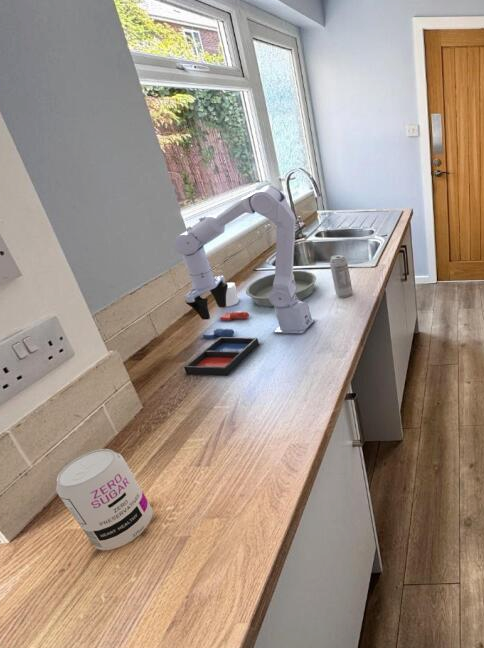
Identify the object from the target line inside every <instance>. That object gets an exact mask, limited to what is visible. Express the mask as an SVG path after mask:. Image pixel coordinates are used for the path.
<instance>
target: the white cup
mask: <svg viewBox="0 0 484 648" xmlns="http://www.w3.org/2000/svg"><path fill="white" fill-rule="evenodd" d="M226 283H227V284H228V288H227V292H226V307H232V306H235V305H237V304H238V303H239V296H238V292H237V291H238V290H237V286H236V282H232V281H227V282H226ZM226 307H225V308H226Z"/></svg>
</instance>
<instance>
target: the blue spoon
mask: <svg viewBox="0 0 484 648" xmlns="http://www.w3.org/2000/svg"><path fill="white" fill-rule="evenodd" d="M234 334H235V331H234V329H233V328H215V329H213V328H212V329H211V328H209V329H208V330H207V331H206V332H204V333H203V334H202V337H203V339H215V338H217V337H234Z"/></svg>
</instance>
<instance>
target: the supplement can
mask: <svg viewBox="0 0 484 648" xmlns="http://www.w3.org/2000/svg"><path fill="white" fill-rule="evenodd" d="M56 482H57V483H56V486H55V492H56V493H57V495H58V497H59V498H60V500H61V501H62V502H63V504H64V505H65V507H66V508H67V510H68V511H69V512H70V514H71V515H72V517H73V518H74V519H75V521H76V522H77V524H78V526H79V527H80V528H81V529H82V531H83V533H84V534H85V535H86V537H87V539H89V541H90V543H91V544H92V545H93V547H94V548H95V549H96V550H99V551H110V550H111V551H112V550H116V549H118V548H121V547H123V546H126V545H128V544H129V543H131V542H132V541H134V540H136V539H137V538H138V537H139V536H140V535H142V533H143V532H144V531H145V529H146V528H147V527H148V525H149V524H150V523H151V520H152V519H153V515H154V514H153V513H154V512H153V511H154V509H153V508H152V506H151V504H150V502H149V500H148V499H147V497H146V495H145V494H144V492H143V490H142V487H140V485H139V483H138V481H137V479H136V478H135V476H134V474H133V472H132V471H131V469H130V467H129V465H128V463H127V461H126V460H125V458H124V457H123V456H122V454H121V453H119V452H115V451H114V450H112V449H109V448H100V449H95V450H92V451H89V452H87V453H84V454H83V455H80V456H78V457H77V458H75V459H73V460H72V461H70V462H69V463H68V464H67V465H66V466H64V467H63V468H62V469H61V471H60V472H59V473H58V474H57V478H56Z"/></svg>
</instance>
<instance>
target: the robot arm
mask: <svg viewBox="0 0 484 648" xmlns="http://www.w3.org/2000/svg"><path fill="white" fill-rule="evenodd" d="M255 213H257V214H258V215H260V216H262V217H265V218H266V219H269V220H270V221H271V222H273V223H274V224H275V225H276V241H275V242H276V243H275V263H274V264H275V265H274V266H275V268H274V274H275V278H274V282H273V289H272V291H271V293H270V294H269V300H270V302H271V304H272V305H274V306H273V308H274V311H275V315H276V319H277V323H278V327H277V328H275V330H274V333H275V334H304V333H305V332H306V331H307V329H308V328H309V327H310V326H311V325H312V324H313V323H314V322H315V320H314V319H313V318H312V314H311V313H312V312H311V310H310V305H309V304H308V303H307V302H306V301H302V300H300V301H299V300H298V298H297V296H296V295H295V292H296V289H297V285H296V283H295V281H294V274H293V271H294V258H295V242H296V241H295V240H296V225H297V224H296V222H297V221H296V220H297V219H296V216H295V213H294V211H293V210H292V208H291V206H290V205H289V202H288V200H287V197H286V195H285V193H283V191H281V190H280V189H278V188H277V187H275V186H272V185H266V186H263V187H261V188H260V190H255V191H254V192H251V193H249V194H247V195H245V196H243V197H242V198H240V199H239V200H238V201H235V203H233V204H232V205H230V206H229V207H227V208H226V209H225V210H224V211H222V212H221V213H220V214H218V215H217V216H216V215H207V216H205V215H203V216H201V217H200V218H198V222H197V223H195V224H193V226H190V225H189V226H188V227H186V228H185V231H183V232H182V233H181V234H178V235H176V237H175V238H174V239H173V248H174V249H175V251H176V252H178V253H179V254H181V255H180V256H181V257H182V261H183V263H184V265H185V267H186V272H187V274H188V277H189V279H190V282H191V284H192V285H191V286H190V288H191V289H190V290H189V292H188V293H187V294H185V295H184V299H185V300H184V301H185V303H186V305H187V306H190V308H192V309H193V310H194V311H195V312H196V314H197V315H199V317H200V318H201V320H210V319H211V315H210V312H209V308H208V302H209V301H208V300H209V299H208V298H203V297H201V296H204V294H206V293H208V292H209V291H210V293H211V294H212V296H213V299H214V301H215V303H216V305H217V307H218V308H226V292H227V288H228V284H227V282H226V279H225V276H224V275H216V276H214V273H213V271H212V270H213V269H212V268H211V264H210V262H209V258H208V256H207V254H206V251H205V246H206V245H207V244H209V243H210V242H212V241H213V240H215V239H216V238H218V237H219V236H221V235H223V234H224V233H225V230H226V229H225V228H226V226H227V225H228V224H229V223H231V222H233V221H234V220H236V219H238V218H239V217H240V216H242V215H244V214H251V215H252V214H255Z"/></svg>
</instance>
